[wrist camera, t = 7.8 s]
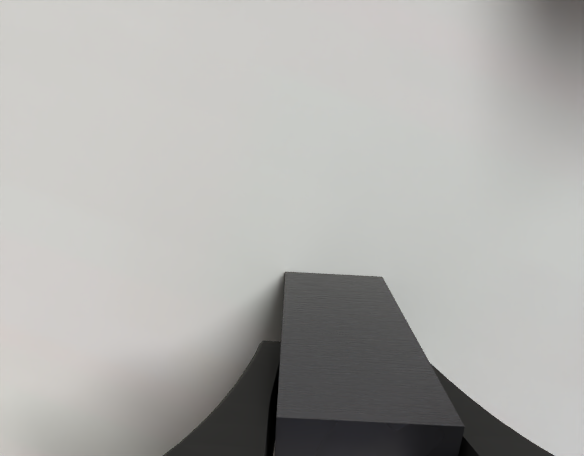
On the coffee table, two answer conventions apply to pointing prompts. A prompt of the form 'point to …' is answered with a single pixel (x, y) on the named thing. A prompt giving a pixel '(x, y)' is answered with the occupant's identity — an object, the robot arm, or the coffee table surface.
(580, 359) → the coffee table surface
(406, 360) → the dark grey mallet
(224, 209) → the coffee table surface
